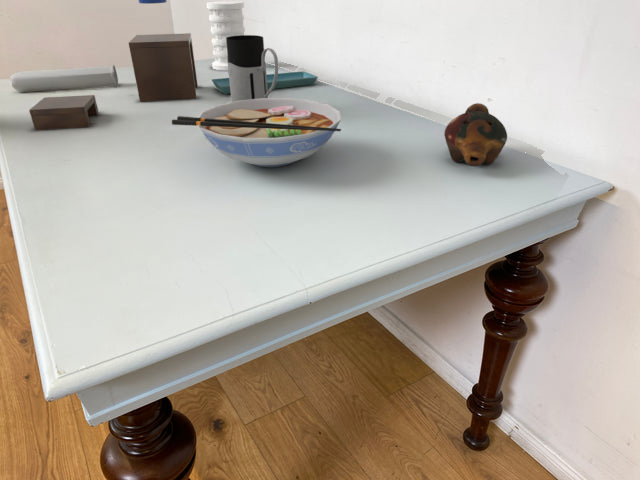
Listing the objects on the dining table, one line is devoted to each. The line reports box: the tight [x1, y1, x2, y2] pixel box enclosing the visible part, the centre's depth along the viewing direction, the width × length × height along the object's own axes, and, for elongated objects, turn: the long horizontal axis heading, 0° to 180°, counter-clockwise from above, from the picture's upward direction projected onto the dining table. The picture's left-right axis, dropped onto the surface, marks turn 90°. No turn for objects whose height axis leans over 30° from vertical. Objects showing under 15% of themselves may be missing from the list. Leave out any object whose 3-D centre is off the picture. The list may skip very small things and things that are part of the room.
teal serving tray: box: [211, 70, 319, 95], centre depth 124 cm, size 26×9×2 cm, turn 116°
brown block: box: [128, 32, 199, 103], centre depth 116 cm, size 13×13×13 cm
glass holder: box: [226, 34, 279, 102], centre depth 99 cm, size 9×14×15 cm, turn 44°
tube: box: [10, 64, 119, 93], centre depth 124 cm, size 5×5×25 cm
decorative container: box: [205, 0, 246, 72], centre depth 144 cm, size 12×12×18 cm
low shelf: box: [29, 94, 100, 131], centre depth 98 cm, size 10×10×4 cm
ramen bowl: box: [171, 97, 342, 168], centre depth 77 cm, size 25×23×8 cm
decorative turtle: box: [444, 102, 508, 167], centre depth 77 cm, size 10×15×8 cm, turn 170°
